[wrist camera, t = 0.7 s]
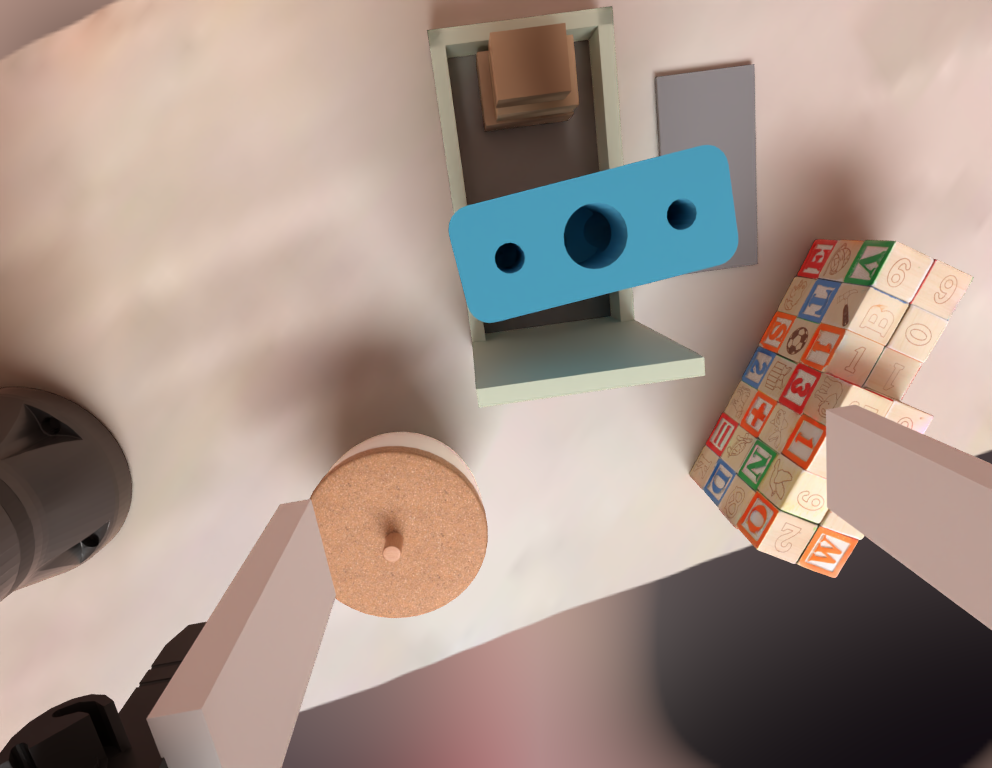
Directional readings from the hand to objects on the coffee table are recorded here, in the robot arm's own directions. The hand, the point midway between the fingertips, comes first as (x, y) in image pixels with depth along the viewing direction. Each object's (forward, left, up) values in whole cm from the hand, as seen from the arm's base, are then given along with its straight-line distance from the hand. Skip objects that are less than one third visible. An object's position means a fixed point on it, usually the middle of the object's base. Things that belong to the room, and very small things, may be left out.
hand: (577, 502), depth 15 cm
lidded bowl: (-9, -13, -32) cm, 36 cm away
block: (+4, +6, -32) cm, 33 cm away
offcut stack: (+4, +16, -32) cm, 36 cm away
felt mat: (+17, +8, -32) cm, 37 cm away
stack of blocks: (+22, -8, -32) cm, 40 cm away
